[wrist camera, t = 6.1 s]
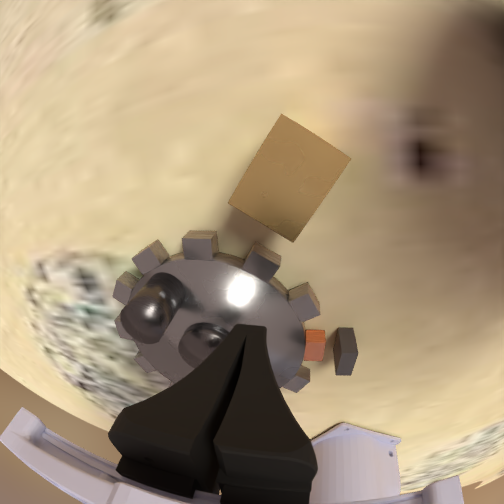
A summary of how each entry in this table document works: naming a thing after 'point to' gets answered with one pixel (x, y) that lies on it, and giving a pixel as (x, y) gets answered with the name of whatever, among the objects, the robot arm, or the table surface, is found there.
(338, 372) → the block
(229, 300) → the sprocket
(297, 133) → the link block
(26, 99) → the table surface
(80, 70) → the table surface
